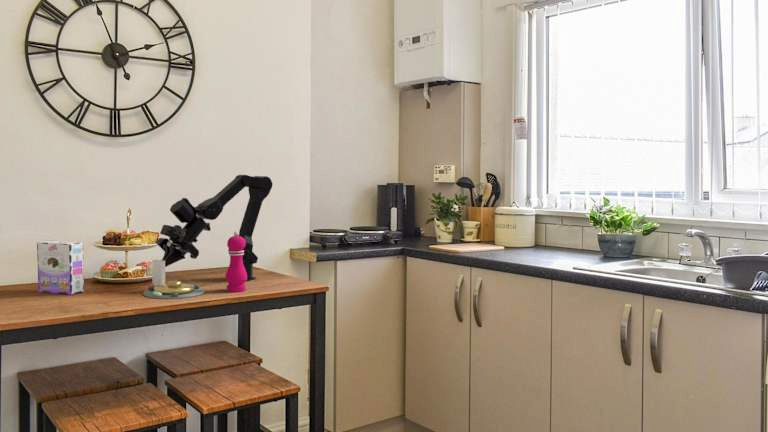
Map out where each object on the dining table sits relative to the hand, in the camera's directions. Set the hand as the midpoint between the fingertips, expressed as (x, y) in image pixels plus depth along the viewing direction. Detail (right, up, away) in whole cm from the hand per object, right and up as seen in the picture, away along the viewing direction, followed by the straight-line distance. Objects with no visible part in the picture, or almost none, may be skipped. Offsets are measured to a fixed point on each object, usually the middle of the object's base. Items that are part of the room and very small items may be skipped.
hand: (161, 267), depth 221 cm
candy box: (-31, -8, -5) cm, 32 cm away
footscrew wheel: (+4, -7, -3) cm, 9 cm away
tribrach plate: (+5, -8, -3) cm, 10 cm away
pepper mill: (+24, -8, +4) cm, 26 cm away
